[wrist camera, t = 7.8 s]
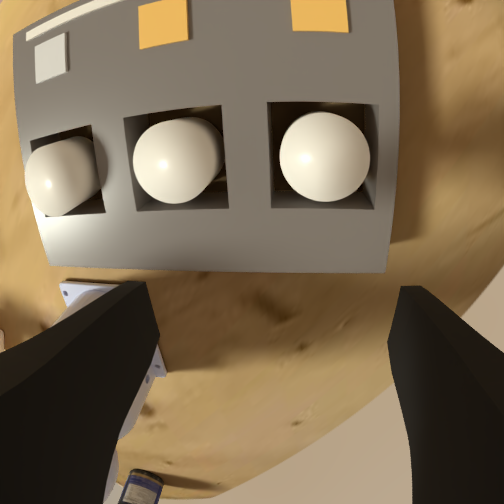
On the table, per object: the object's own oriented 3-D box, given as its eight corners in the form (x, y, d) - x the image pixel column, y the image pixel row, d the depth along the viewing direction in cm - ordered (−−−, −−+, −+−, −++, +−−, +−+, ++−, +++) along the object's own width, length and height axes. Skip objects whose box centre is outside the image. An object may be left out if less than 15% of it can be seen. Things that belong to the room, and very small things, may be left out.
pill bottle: (154, 484, 44) (138, 533, 34) (125, 469, 42) (106, 519, 32) (171, 481, 41) (154, 535, 31) (139, 466, 40) (119, 521, 30)
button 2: (110, 196, 17) (82, 215, 15) (62, 201, 18) (33, 218, 15) (99, 130, 16) (68, 140, 13) (51, 142, 16) (19, 152, 13)
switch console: (373, 247, 19) (386, 274, 16) (72, 246, 21) (48, 267, 18) (373, -18, 11) (388, -38, 8) (42, 36, 14) (11, 34, 11)
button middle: (228, 185, 17) (216, 202, 15) (161, 188, 18) (139, 205, 15) (222, 113, 16) (208, 116, 13) (153, 121, 16) (128, 126, 13)
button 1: (355, 185, 16) (367, 202, 14) (282, 184, 17) (280, 201, 14) (357, 112, 15) (370, 115, 12) (280, 110, 15) (277, 112, 13)
